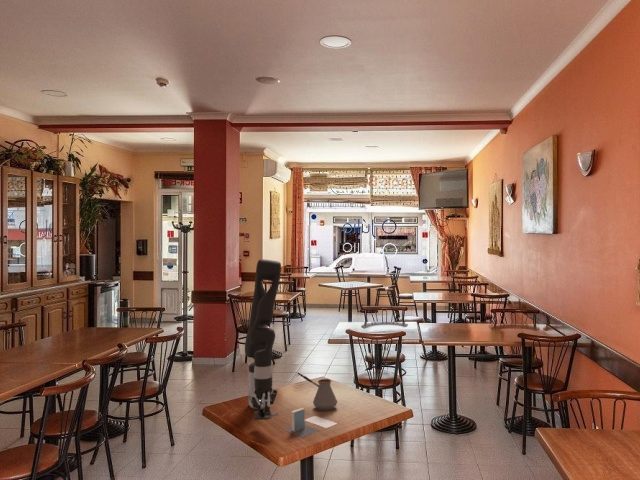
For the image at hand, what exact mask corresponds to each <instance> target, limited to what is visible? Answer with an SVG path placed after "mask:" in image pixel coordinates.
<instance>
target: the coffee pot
mask: <svg viewBox="0 0 640 480" xmlns="http://www.w3.org/2000/svg"><path fill="white" fill-rule="evenodd" d="M295 376H296V377H299V376H300V377H302V378H303V379H304V380H305V381H308V382H309V383H311V384H313V385H314V386H316V387H317V390H316V393H315V396H314V398H313V401H312V403H313V406H314V407H315V408H316V409H317V410H318V411H331V410H333V409H334V408H335V407H336V406H337V405H338V399H337V398H336V395H335V393H334V391H333V389H332V386H331V383H332V379H329V378H321V379H318V380H317V383H316V382H315V381H313V380H312V379H310V378H309V377H307V376H305V375H304V374H302V373H300V372H297V374H296V375H295Z"/></svg>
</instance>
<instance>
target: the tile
mask: <svg viewBox="0 0 640 480" xmlns="http://www.w3.org/2000/svg"><path fill="white" fill-rule="evenodd" d="M290 413H291V414H290V416H291V427H292V431H297V430H300V429H302V428H305V425H306V424H305V423H306V421H305V419H306V416H305V415H306V413H305V408H304V407H301V408H298V409H295V410H291V412H290Z"/></svg>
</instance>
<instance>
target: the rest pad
mask: <svg viewBox="0 0 640 480" xmlns="http://www.w3.org/2000/svg"><path fill="white" fill-rule="evenodd" d="M305 422H307V423H311V424H313V425H317V426H318V427H321V428H325V429H327V428H330V427H332V426H335V425H337V424H338V423H337V422H334V421H332V420H328V419H326V418H323V417H320V416H317V415H314V416H310V417H307V418H305Z"/></svg>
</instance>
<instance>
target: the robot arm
mask: <svg viewBox="0 0 640 480" xmlns="http://www.w3.org/2000/svg"><path fill="white" fill-rule="evenodd" d="M281 274H282V264H281V262H280V261H278V260H273V259H265V258H264V259H263V258H261V259H258V261H257V263H256V268H255V278H254V291H253V297H252V301H251V308H250V309H251V310H250V314H249V315H250V317H249V325H248V330H247V334H246V337H245V342H244V353H245V356H246V357H247V358H254V362H252V363H250V364H249V366H248V384H249V385H248V386H247V388H248V390H247V392H248V406H249V407H250V408H251V409H253V410H254V409H255V410H257V411H258V416H259V417H261V418H263V411H270V412H271V405H274V404H275V403H274V402H275V400H276V397H277V394H278V390H277V389H274V388H273V368H272V367H273V366H272V351H273V346H274V343H275V339H276V333H275V330H274V329H273V328H271V327H269V328H268V327H265V326H269V325H271V324H272V323H273V319H274V312H275V309H274V308H275V302H276V297H277V294H278V289H279V284H280V279H281ZM263 281H269V282H270V281H271V286H270V287H269V289H268V290H267V292H266V290H265V287H264V283H263Z"/></svg>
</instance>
